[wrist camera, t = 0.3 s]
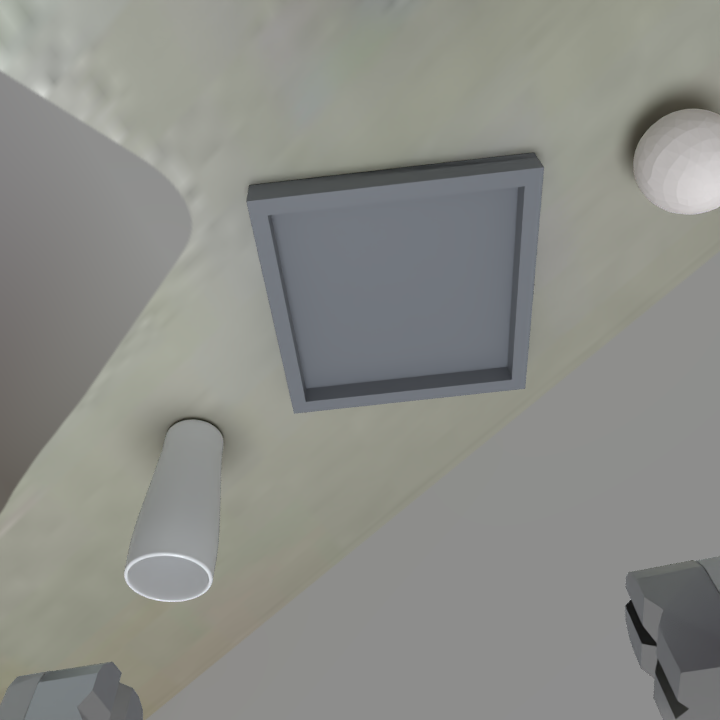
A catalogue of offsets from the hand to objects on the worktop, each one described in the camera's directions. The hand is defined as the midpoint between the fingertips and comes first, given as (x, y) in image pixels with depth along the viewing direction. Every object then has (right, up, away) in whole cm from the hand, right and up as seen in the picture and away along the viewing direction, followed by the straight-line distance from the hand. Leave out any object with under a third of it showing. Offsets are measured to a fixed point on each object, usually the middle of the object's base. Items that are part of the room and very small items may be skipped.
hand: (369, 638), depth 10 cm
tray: (+3, +10, +42) cm, 43 cm away
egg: (+21, +20, +36) cm, 46 cm away
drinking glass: (-16, -3, +52) cm, 54 cm away
